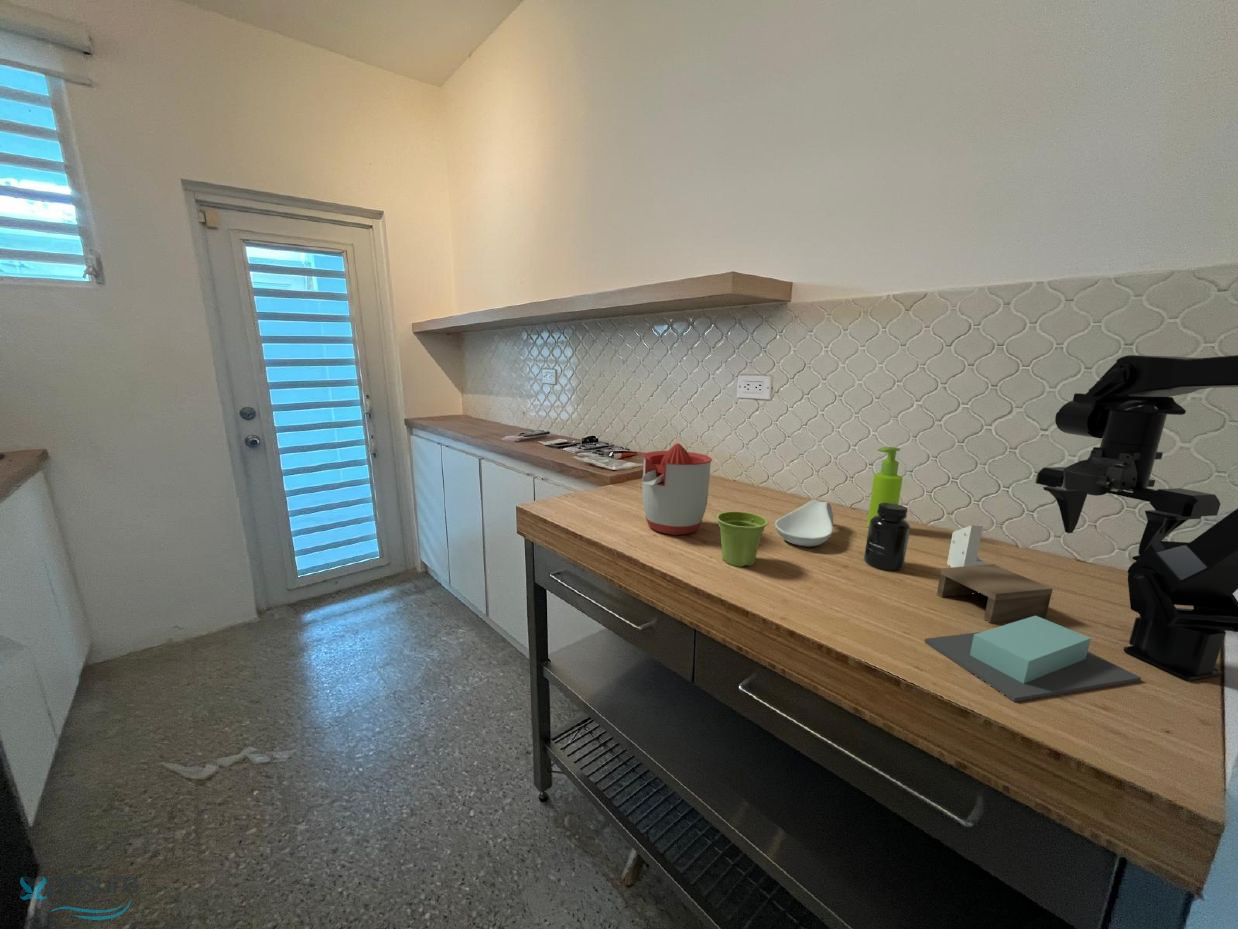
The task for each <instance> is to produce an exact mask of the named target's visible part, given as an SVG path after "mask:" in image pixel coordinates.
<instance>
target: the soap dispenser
mask: <svg viewBox="0 0 1238 929" xmlns="http://www.w3.org/2000/svg"><path fill="white" fill-rule="evenodd" d="M900 450H901V448H900V447H893V446H884V447H880V448H878V449H877V451H878V452H882V453H887V455H886V456H887V457H886V459H883V460H882V461H881V468H880V472H878V473H874V475H873V481H872V488H871V495H870V499H869V500H870V503H869V506H868V507H869V508H868V515H867V522H866V527H867V528H868V527H869V524H870V520H871V519H872V518H873V517H875V516H878V514H877V510H878V506H879V504H880V503H893V504H898V505H900V504H899V502H900V496H901V492H902V491H901V490H902V486H903V479H904V477H902V476H900V475H898V470H899V464H900V462H899V461H897V460H896V455H897V451H898V452H900Z"/></svg>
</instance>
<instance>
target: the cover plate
mask: <svg viewBox="0 0 1238 929" xmlns="http://www.w3.org/2000/svg"><path fill="white" fill-rule="evenodd" d="M979 632H980V633H977V632H976V633H977V634H974V637H973V642H972V647H971V652H970V655H971V656H973V657H974V658H976V659H978V660H980V661H982V662H984V663H986V664H988V665H989V666H991V667H993V668H995V669H997V670H999V671H1001V672H1003V673H1005V674H1006V675H1008V676H1010V677H1012V678H1014V679H1016V680H1018V681H1020V682H1021V683H1023V684H1024V683H1026V682H1029V681H1031V680H1034V679H1036V678H1039V677H1041V676H1044V675H1046V674H1049V673H1051V672H1054V671H1056V670H1059V669H1061V668H1064V667H1066V666H1069V665H1071V664H1074V663H1076V662H1079V661H1082V660H1084V659H1086V656H1087V652H1088V651H1089V647H1090V644H1091V640H1092V638H1091V637H1089V636H1086V635H1084V634H1082V633H1079V632H1076V631H1074V630H1072V629H1070V628H1067V627H1064V626H1062V625H1060V624H1057V623H1055V622H1052V621H1050V620H1048V619H1046V618H1044V617H1041V618H1040V617H1038V616H1032V617H1029V618H1026V619H1023V620H1015V621H1014V622H1013V621H1012V622H1009V623H1007V624H1004V625H1000V626H998V627H994V628H991V629H987V630H984V631H979Z"/></svg>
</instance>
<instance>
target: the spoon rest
mask: <svg viewBox="0 0 1238 929" xmlns="http://www.w3.org/2000/svg"><path fill="white" fill-rule="evenodd" d="M833 524H834V512H833V509H832V505H831V503H830V502H828V501H820V500H818V499H811V500H809V501H808V502H807V503H805V504H803V505H802V506H799V507H798V508H796V509H795V510H793V511H791V512H789V513H787V514H785V515H783V516H781V517H780V518H778V519H777V520H776V521H775V522H774V526H775V530H776V531H777V532H776V533H778V534H779V536H780V537H781V538H782V539H784V540H785V541H786V542H788V543H790V544H793V545H796V546H800V547H803V548H804V547H805V548H806V547H812V548H813V547H817V546H820V545H822V544H824V543H825V542H827V541H828V540H829V539H830V538H831V536H832V535H833V532H834V528H833Z"/></svg>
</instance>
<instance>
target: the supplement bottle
mask: <svg viewBox="0 0 1238 929" xmlns="http://www.w3.org/2000/svg"><path fill="white" fill-rule="evenodd" d="M877 514H878V516H875V517H873V518H872V519H871V520H870V524H869V528H868V531H867V537H866V543H865V549H864V555H863V559H864V562H865V563H866V564H867V565H869V567H873V568H876V569H879V570H881V571H887V572H898V571H900V570H902V569H903V568H904V563H905V560H906V555H907V549H908V543H909V539H910V538H909V537H910V534H911V525H910V523H908V522H907V521H906V519H907V514H908V508H907V507H906V506H903V505H901V504H893V503H880V504H879V506H878V510H877Z"/></svg>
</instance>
